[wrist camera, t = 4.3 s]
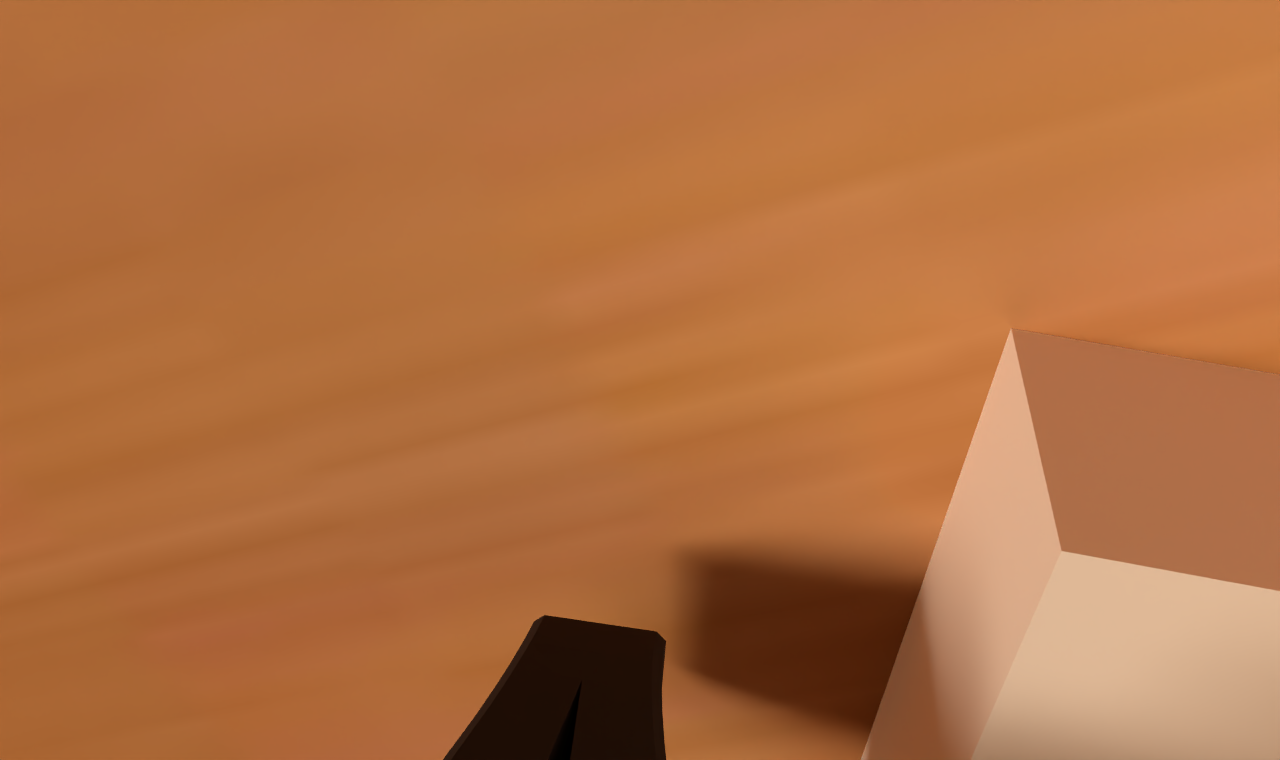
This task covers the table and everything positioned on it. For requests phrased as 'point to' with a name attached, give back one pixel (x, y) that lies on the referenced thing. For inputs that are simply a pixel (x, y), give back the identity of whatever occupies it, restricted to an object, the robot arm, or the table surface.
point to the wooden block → (1101, 569)
